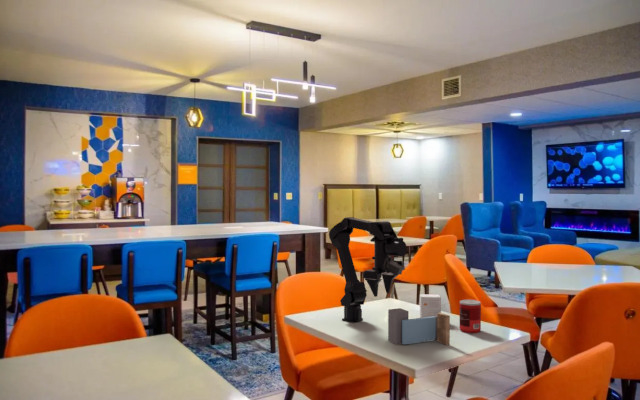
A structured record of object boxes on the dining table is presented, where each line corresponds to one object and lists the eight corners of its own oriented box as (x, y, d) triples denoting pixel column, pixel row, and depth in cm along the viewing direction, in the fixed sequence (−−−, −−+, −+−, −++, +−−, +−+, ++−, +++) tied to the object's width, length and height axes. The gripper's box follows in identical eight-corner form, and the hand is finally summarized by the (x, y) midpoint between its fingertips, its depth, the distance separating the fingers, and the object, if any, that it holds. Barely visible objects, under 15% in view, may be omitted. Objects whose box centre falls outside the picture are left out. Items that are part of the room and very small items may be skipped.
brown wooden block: (437, 341, 173) (437, 313, 173) (440, 341, 174) (440, 312, 173) (446, 345, 169) (446, 316, 168) (449, 344, 169) (449, 315, 169)
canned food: (481, 329, 189) (482, 300, 189) (479, 334, 182) (479, 304, 182) (461, 326, 193) (461, 298, 193) (457, 332, 185) (458, 302, 185)
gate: (436, 339, 176) (436, 315, 175) (439, 340, 174) (439, 316, 174) (401, 344, 169) (402, 320, 169) (404, 345, 168) (404, 321, 168)
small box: (439, 319, 204) (439, 294, 204) (441, 323, 198) (441, 297, 198) (419, 319, 205) (419, 293, 205) (420, 322, 199) (421, 296, 199)
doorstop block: (388, 340, 174) (388, 309, 174) (400, 339, 176) (400, 308, 176) (396, 344, 169) (396, 312, 169) (408, 342, 171) (408, 311, 171)
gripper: (388, 258, 177) (388, 301, 178) (412, 253, 192) (411, 293, 192) (362, 255, 184) (361, 297, 184) (386, 251, 199) (386, 290, 199)
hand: (381, 294), depth 190 cm, fingers open, 9 cm apart
